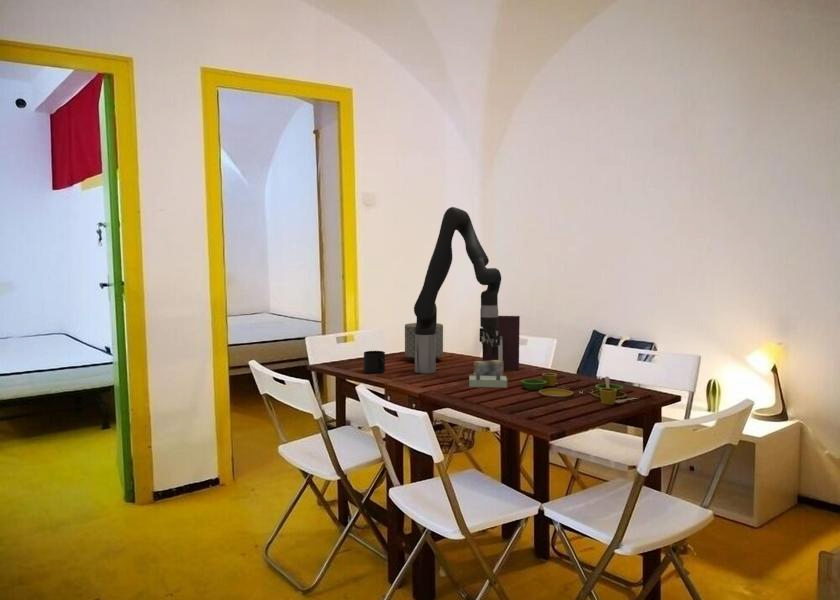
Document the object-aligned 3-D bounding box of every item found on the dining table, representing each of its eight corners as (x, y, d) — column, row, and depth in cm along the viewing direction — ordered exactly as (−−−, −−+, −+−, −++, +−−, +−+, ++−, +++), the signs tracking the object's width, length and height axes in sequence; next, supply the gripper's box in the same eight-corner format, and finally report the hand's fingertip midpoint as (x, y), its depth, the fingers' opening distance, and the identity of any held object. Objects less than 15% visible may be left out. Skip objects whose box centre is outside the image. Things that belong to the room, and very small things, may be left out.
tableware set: (645, 401, 233) (645, 383, 232) (591, 410, 218) (591, 392, 218) (564, 382, 268) (564, 367, 267) (512, 389, 253) (513, 373, 253)
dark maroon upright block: (518, 369, 293) (519, 315, 291) (520, 373, 283) (520, 317, 281) (482, 369, 294) (482, 315, 292) (482, 373, 285) (482, 317, 283)
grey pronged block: (469, 387, 254) (469, 369, 254) (469, 382, 263) (469, 365, 263) (507, 387, 253) (507, 370, 253) (505, 383, 262) (506, 366, 262)
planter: (450, 360, 318) (450, 324, 317) (424, 365, 304) (424, 327, 303) (423, 356, 331) (423, 321, 330) (396, 361, 317) (396, 324, 316)
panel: (477, 382, 265) (477, 363, 265) (473, 380, 269) (473, 361, 268) (503, 380, 269) (503, 361, 269) (499, 378, 273) (499, 359, 273)
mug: (374, 375, 279) (374, 355, 278) (359, 371, 288) (359, 351, 288) (392, 373, 285) (392, 353, 284) (377, 369, 294) (377, 350, 293)
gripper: (505, 316, 262) (505, 355, 263) (489, 314, 276) (489, 351, 277) (489, 317, 260) (489, 357, 261) (473, 314, 273) (474, 352, 274)
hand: (489, 354), depth 269 cm, fingers open, 8 cm apart
